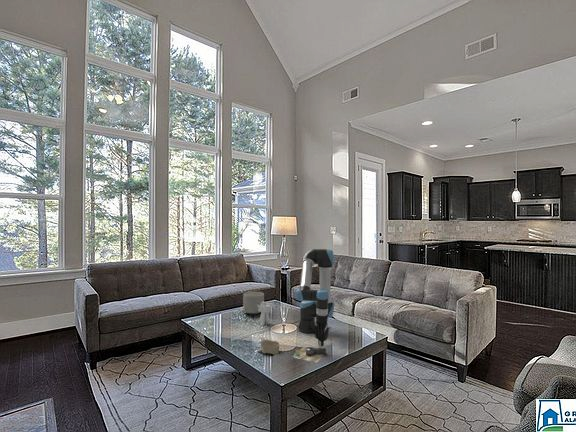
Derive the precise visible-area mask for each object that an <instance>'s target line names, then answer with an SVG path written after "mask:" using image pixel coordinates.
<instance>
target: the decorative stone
mask: <svg viewBox="0 0 576 432" xmlns="http://www.w3.org/2000/svg"><path fill="white" fill-rule="evenodd" d="M259 343H260V347H259V348H258V349H257V352H258V353H263V354H270V355H271V354H272V355H274V356H275V355H278V354H279V353H280V352H279V351H280V342H279V341H276V340H270V339H266V338H265V339H264V338H263V339H261V340H260V341H259Z"/></svg>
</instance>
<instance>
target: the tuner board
mask: <svg viewBox="0 0 576 432" xmlns="http://www.w3.org/2000/svg"><path fill="white" fill-rule="evenodd" d="M307 347H308V346H303V347H302V348H301V349H300V350H306V348H307ZM328 352H329V351H328V350H326V354H327V353H328ZM326 354H315V355H312V356H309V355H306V352H295V353H294V355H293V356H292V358H295V359H298V360H303V361H307V362H312V363H316V364H318V362H320V360H321V359H322V358H323V357H324V356H325V355H326Z"/></svg>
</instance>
